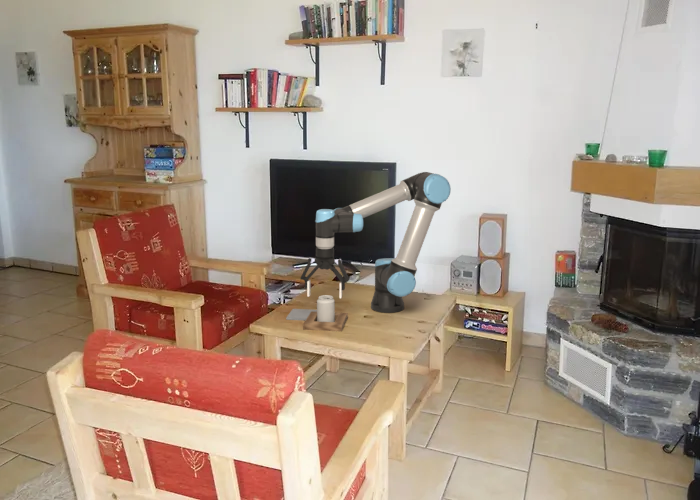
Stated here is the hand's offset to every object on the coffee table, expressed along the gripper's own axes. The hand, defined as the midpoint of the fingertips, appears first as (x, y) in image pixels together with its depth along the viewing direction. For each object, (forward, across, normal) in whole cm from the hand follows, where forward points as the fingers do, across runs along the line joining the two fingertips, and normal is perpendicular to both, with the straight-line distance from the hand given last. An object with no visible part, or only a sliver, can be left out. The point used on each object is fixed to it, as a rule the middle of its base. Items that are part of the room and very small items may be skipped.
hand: (324, 296), depth 247 cm
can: (+12, 0, 0) cm, 12 cm away
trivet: (+12, +12, -9) cm, 19 cm away
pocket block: (+12, 0, 0) cm, 12 cm away
